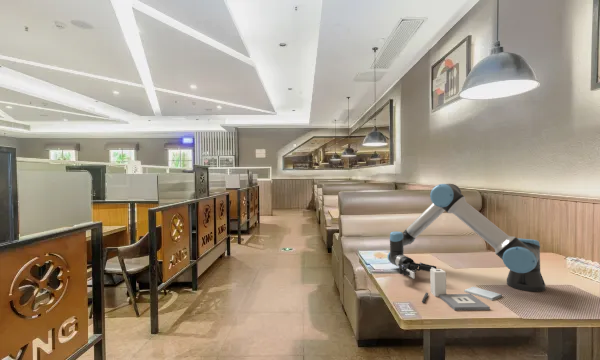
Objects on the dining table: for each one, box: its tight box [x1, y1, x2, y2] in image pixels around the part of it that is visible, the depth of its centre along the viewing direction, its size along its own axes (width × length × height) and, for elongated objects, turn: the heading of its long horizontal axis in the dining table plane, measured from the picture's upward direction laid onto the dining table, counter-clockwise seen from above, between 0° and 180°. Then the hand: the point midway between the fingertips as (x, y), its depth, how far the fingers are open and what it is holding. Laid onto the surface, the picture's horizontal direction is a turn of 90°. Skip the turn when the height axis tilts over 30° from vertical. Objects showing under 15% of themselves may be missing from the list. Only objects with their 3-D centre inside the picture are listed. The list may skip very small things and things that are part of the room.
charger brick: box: [429, 268, 447, 298], centre depth 138 cm, size 5×5×11 cm
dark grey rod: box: [421, 292, 429, 304], centre depth 132 cm, size 11×1×1 cm, turn 149°
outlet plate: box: [439, 293, 491, 311], centre depth 127 cm, size 14×14×2 cm
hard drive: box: [463, 286, 503, 301], centre depth 137 cm, size 2×8×12 cm
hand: (426, 274), depth 146 cm, fingers open, 13 cm apart
